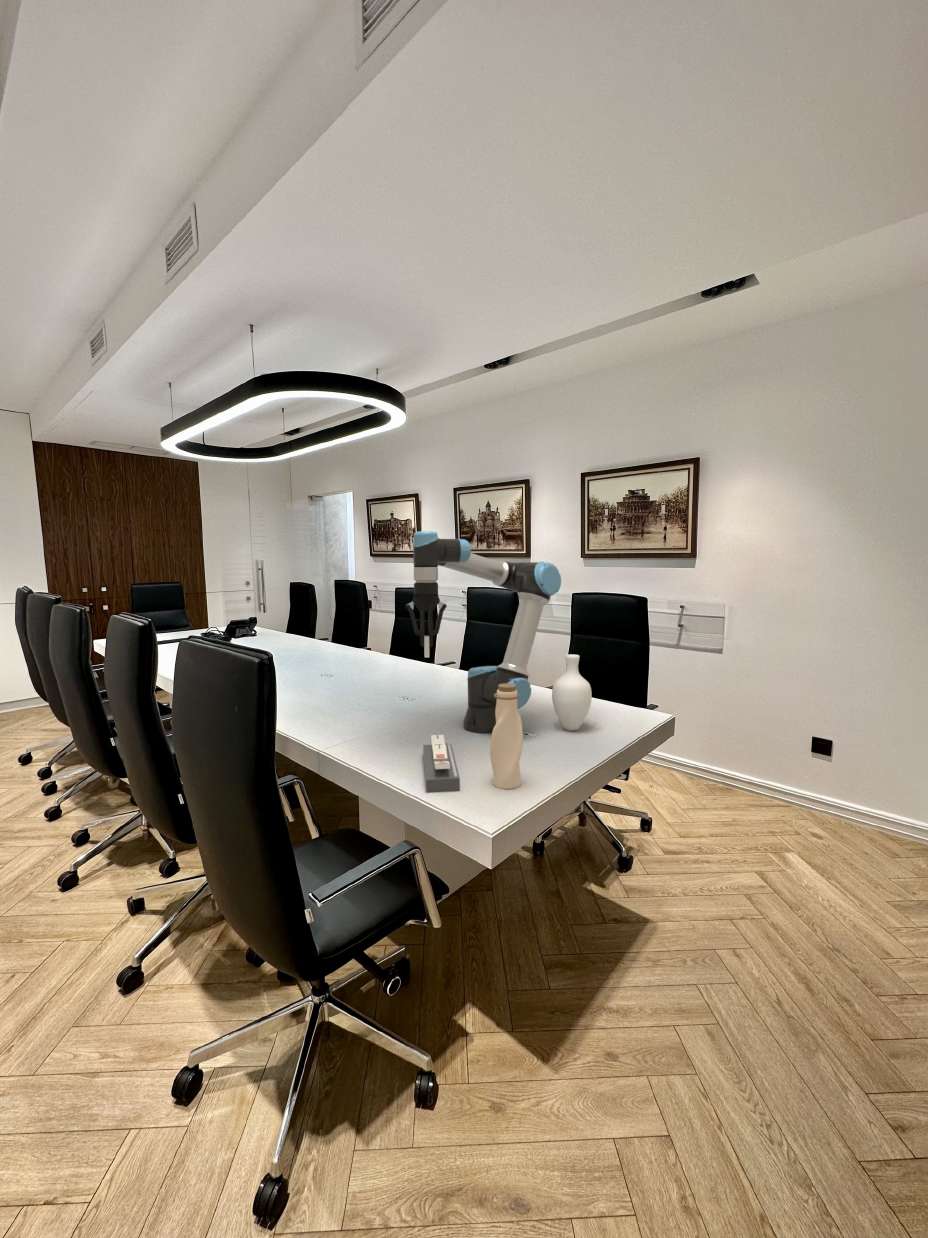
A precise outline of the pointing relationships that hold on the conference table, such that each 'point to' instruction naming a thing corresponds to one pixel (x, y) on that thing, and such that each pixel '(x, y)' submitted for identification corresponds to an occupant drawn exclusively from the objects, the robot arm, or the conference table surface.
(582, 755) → the conference table surface
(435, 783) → the power strip
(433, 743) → the rocker
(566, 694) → the vase
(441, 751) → the rocker
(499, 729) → the water bottle
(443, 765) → the rocker
